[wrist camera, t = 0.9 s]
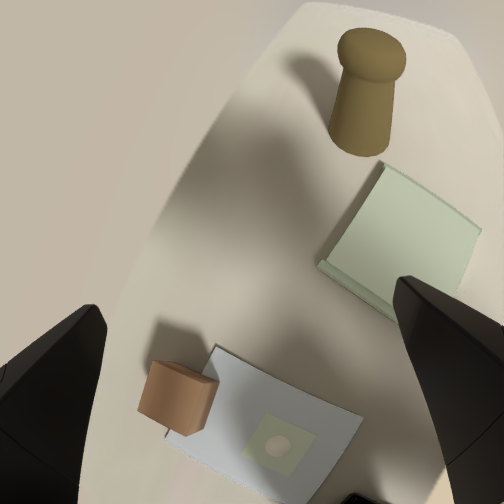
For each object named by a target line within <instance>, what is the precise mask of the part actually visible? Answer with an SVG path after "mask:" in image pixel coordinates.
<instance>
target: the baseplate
mask: <svg viewBox="0 0 504 504" xmlns="http://www.w3.org/2000/svg"><path fill="white" fill-rule="evenodd" d="M381 172H383V173H382V175H381V176H380V178H379V180H378V181H377V183H376V185H375V186H374V188H373V189H372V191H371V193H370V194H369V196H368V197H367V199H366V200H365V202H364V204H363V205H362V207H361V208H360V210H359V211H358V213H357V214H356V216H355V217H354V219H353V221H352V222H351V224H350V225H349V227H348V228H347V230H346V231H345V233H344V234H343V236H342V237H341V239H340V240H339V242H338V243H337V244H336V246H335V247H334V249H333V250H332V252H331V253H330V255H329V256H328V258H327V259H326V261H324V260H323V259H322V260H321V261H320V263H319V264H318V266H317V269H319V270H320V271H322V272H323V273H325V274H326V275H328V276H329V277H331V278H332V279H333V280H335V281H336V282H338V283H339V284H341V285H342V286H344V287H345V288H347V289H348V290H350V291H351V292H352V293H354V294H355V295H357V296H358V297H360V298H361V299H363V300H364V301H365V302H367V303H368V304H370V305H371V306H373V307H374V308H375V309H377V310H378V311H380V312H381V313H383V314H384V315H386V316H387V317H388V318H390V319H391V320H393V321H394V322H395V323H397V324H398V321H397V317H396V314H395V311H394V308H393V303H392V300H393V295H394V290H395V285H396V281H397V279H398V277H400V276H406V275H411V276H413V277H415V278H417V279H419V280H421V281H423V282H425V283H427V284H429V285H431V286H433V287H434V288H436V289H438V290H440V291H442V292H444V293H446V294H448V295H449V296H451V297H453V298H454V296H455V294H456V292H457V289H458V287H459V285H460V282H461V280H462V278H463V275H464V273H465V270H466V268H467V265H468V262H469V260H470V257H471V254H472V252H473V249H474V246H475V243H476V240H477V237H478V236H479V235H480V234H481V231H482V229H481V228H480V227H479V226H478V225H476V224H475V223H474V222H473V221H471V220H470V219H469V218H468V217H466V216H465V215H464V214H462V213H461V212H460V211H458V210H457V209H456V208H454V207H453V206H451V205H450V204H449V203H447V202H446V201H444V200H443V199H442V198H440V197H439V196H437V195H436V194H434V193H433V192H432V191H430V190H429V189H427V188H426V187H424V186H423V185H421V184H419V183H418V182H416V181H415V180H413V179H412V178H410V177H409V176H407V175H405V174H404V173H402V172H401V171H399V170H397V169H396V168H394V167H392V166H391V165H389V164H387V163H385V164H384V166H383V167H382V170H381ZM398 325H399V324H398Z"/></svg>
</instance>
